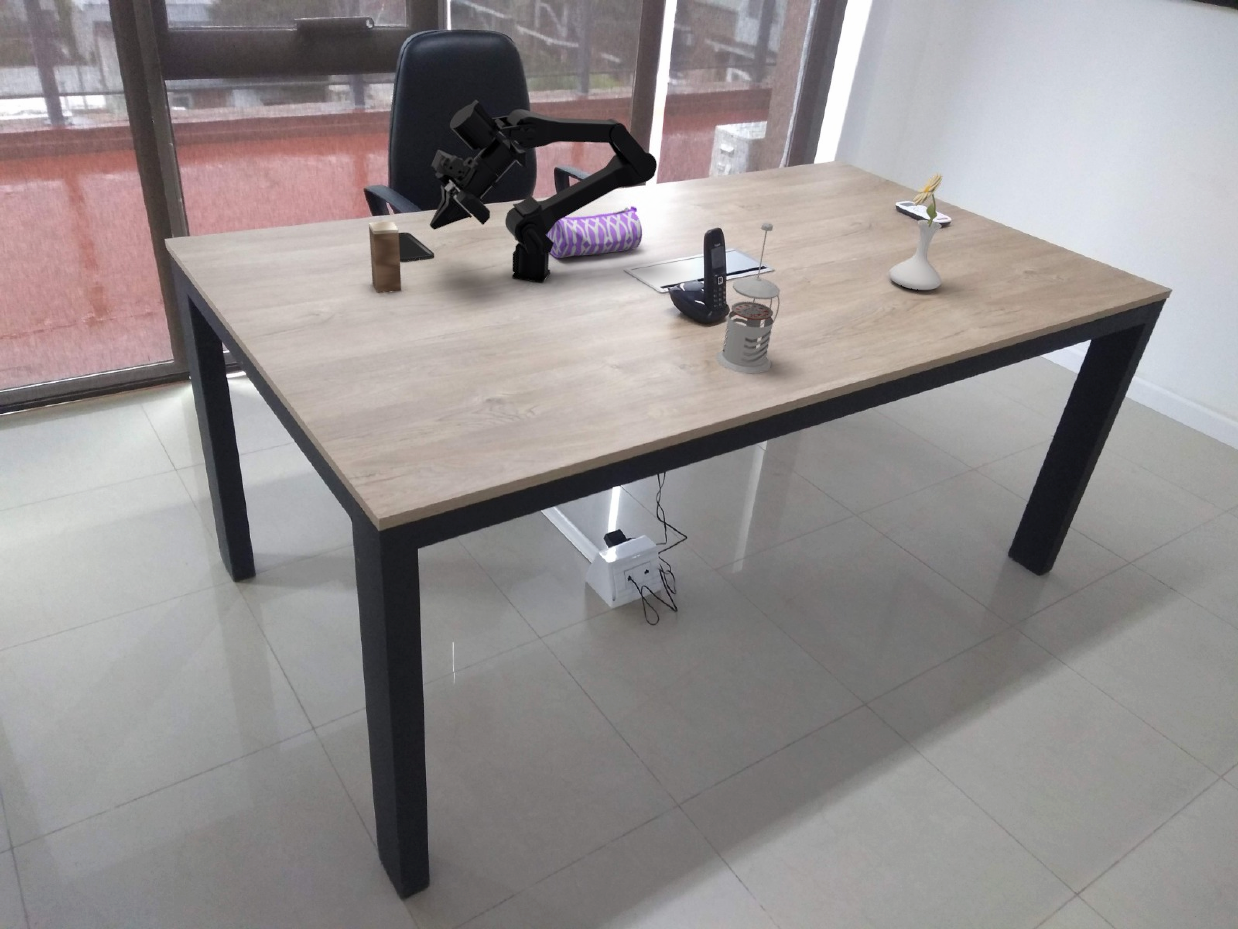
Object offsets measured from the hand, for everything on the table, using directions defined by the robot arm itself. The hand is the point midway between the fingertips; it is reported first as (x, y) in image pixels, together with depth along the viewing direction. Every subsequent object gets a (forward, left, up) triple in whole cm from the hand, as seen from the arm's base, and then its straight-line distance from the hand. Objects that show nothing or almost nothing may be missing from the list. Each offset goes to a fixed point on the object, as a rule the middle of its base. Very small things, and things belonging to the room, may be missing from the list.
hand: (431, 227), depth 172 cm
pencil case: (-26, -31, -12) cm, 42 cm away
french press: (-63, +11, -11) cm, 65 cm away
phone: (+12, -16, -12) cm, 23 cm away
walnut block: (+7, +5, -11) cm, 14 cm away
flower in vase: (-96, -40, -11) cm, 104 cm away
